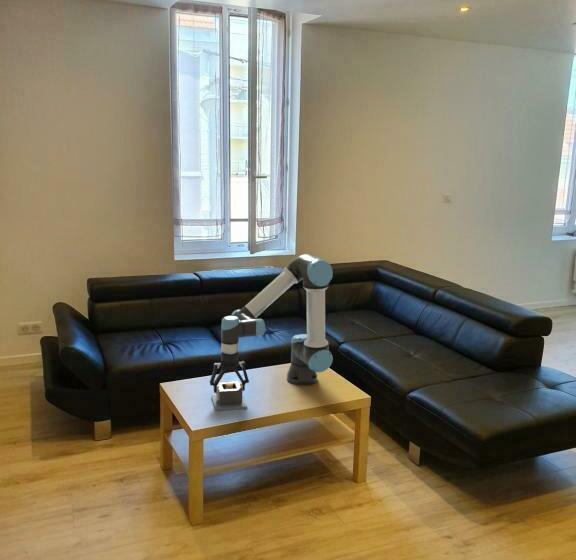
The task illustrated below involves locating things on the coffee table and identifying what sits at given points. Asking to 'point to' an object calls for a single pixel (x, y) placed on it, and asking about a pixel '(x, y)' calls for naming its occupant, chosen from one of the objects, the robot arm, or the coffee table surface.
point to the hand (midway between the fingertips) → (229, 398)
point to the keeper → (228, 406)
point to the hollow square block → (230, 393)
